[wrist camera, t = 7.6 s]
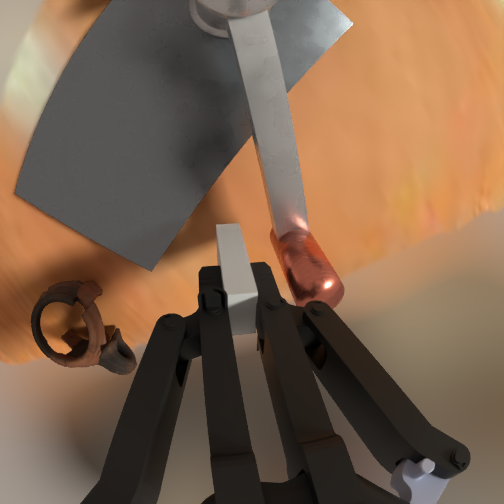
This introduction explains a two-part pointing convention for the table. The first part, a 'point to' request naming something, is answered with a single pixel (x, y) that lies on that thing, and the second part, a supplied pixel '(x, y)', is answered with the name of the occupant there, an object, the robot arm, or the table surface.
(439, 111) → the table surface
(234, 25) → the lever
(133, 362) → the pottery mug
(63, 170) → the base board
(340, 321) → the robot arm
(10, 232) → the table surface
